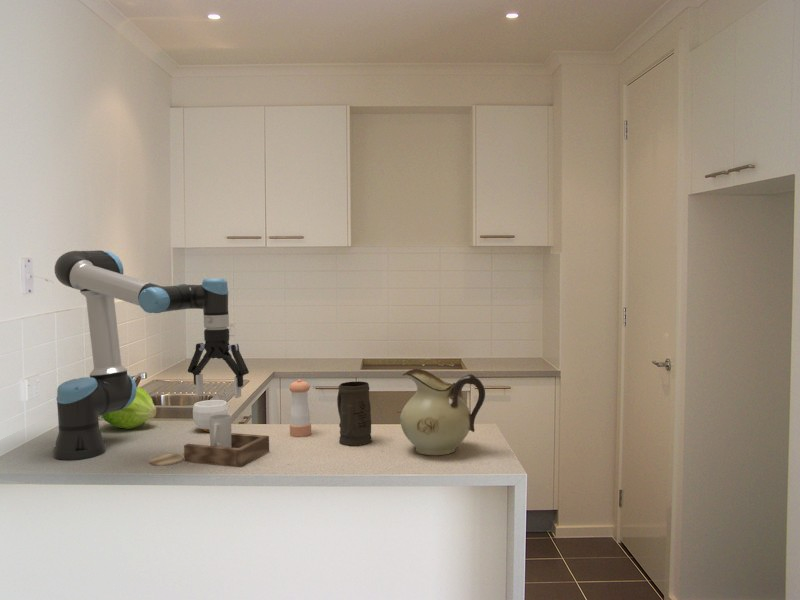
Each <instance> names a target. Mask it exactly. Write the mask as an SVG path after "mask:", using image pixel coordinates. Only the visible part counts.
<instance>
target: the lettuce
mask: <svg viewBox="0 0 800 600" xmlns="http://www.w3.org/2000/svg"><path fill="white" fill-rule="evenodd" d="M136 388H137V391H136V396H135V399H134V401H133V402H132V403H131V404H130V405H129V406H128V407H126V408H123V409H121V410H119V411H113V412H109V413H106V414H103V415H101V416H102V418H103V421H105V422H107V423H108V424H110V425H112V426H113V427H115V428H121V429H127V430H128V429H129V430H131V429H133V428H136V427H139V426H141V425H142V424H144V423H145V422H146V421H149V420H151V419H153V418H154V417H155V416H156V415H157V407H156V405H155V404H154V401H153V398H152V397H151V395H149V393H148V392H147V391H146V389H144V388H142V387H137V386H136Z"/></svg>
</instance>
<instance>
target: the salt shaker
mask: <svg viewBox="0 0 800 600" xmlns="http://www.w3.org/2000/svg"><path fill="white" fill-rule="evenodd" d="M310 389H311V386H310V385H309V382H307V381H302V379H296V381H294V382H291V383H290V384H289V387H288V390H289V391H290V392H291V409H290V424H289V435H290V436H291V437H295V438H296V437H298V438H301V437H302V438H303V437H308V436H310V435H312V424H311V413H310V407H309V397H308V396H309V395H308V394H309V393H308V392H309V390H310Z"/></svg>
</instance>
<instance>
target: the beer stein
mask: <svg viewBox="0 0 800 600" xmlns="http://www.w3.org/2000/svg"><path fill="white" fill-rule="evenodd" d="M337 392H338V393H337V398H336V399H337V400H336V403H337V404H336V405H337V410H338V416H339V419H340V421H339V426H338V427H339V441H338V442H339V444H340V445H342V446H350V447H357V446H358V447H359V446H361V447H362V446H365V445H369V444H370V443H371V442H372V441H373V439H372V416H371V415H372V414H371V412H372V411H371V410H372V409H371V401H370V384H369V382H367V381H360V380H359V381H347V382H346V381H345V382H342V383H340V384H339V385H338V391H337Z"/></svg>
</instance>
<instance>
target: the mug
mask: <svg viewBox="0 0 800 600" xmlns="http://www.w3.org/2000/svg"><path fill="white" fill-rule="evenodd" d="M209 429H210V432H209V440H210V441H209V443H210V445H209V446H220V447H231V433H232V415H231V414H229V413H228V414H217V415H212V416H210V417H209Z"/></svg>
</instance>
